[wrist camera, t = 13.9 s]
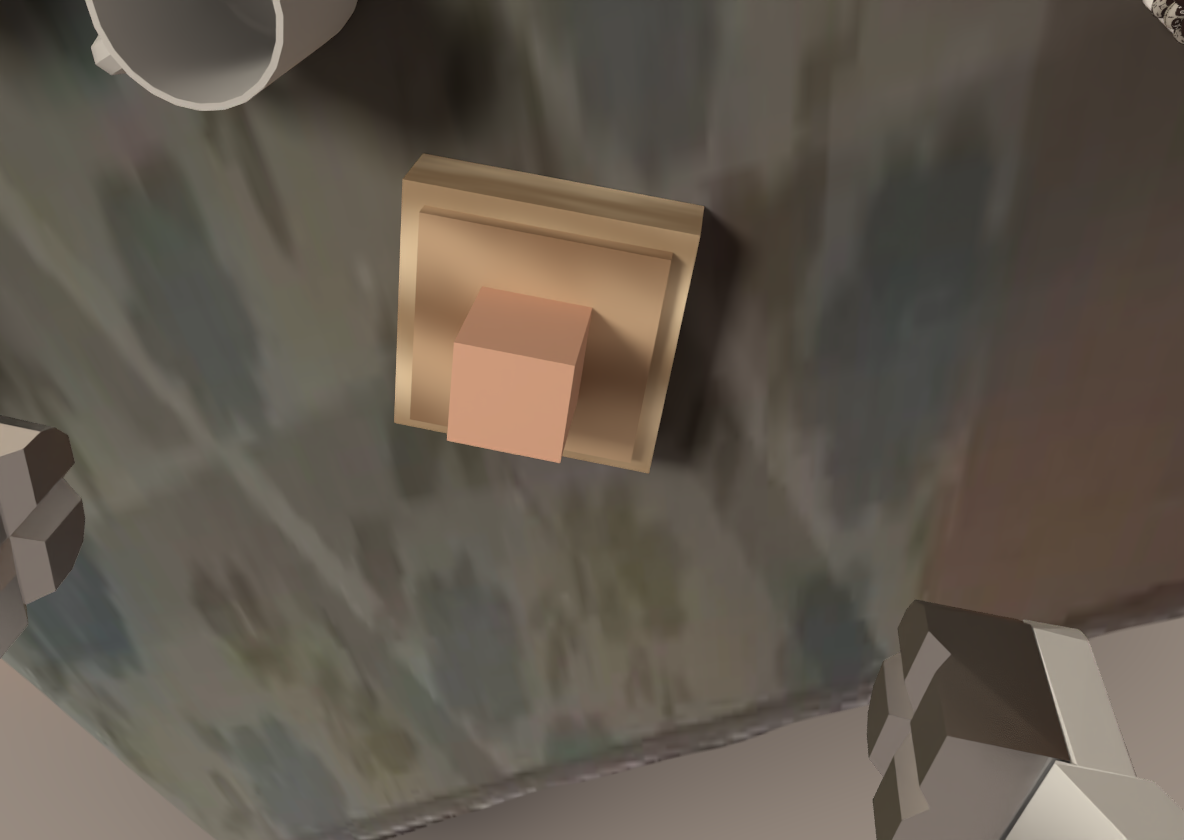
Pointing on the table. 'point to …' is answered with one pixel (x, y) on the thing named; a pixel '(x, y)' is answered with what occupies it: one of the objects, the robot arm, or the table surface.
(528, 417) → the cube
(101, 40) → the cup
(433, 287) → the plinth
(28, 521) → the robot arm
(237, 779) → the table surface
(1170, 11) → the decorative candle
